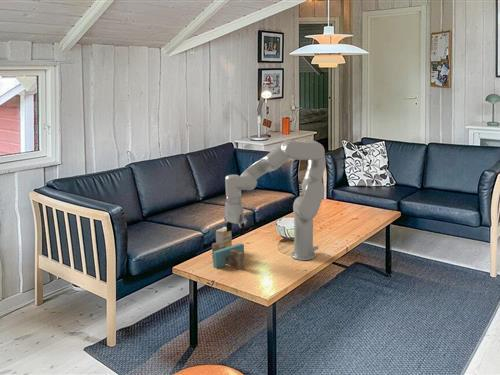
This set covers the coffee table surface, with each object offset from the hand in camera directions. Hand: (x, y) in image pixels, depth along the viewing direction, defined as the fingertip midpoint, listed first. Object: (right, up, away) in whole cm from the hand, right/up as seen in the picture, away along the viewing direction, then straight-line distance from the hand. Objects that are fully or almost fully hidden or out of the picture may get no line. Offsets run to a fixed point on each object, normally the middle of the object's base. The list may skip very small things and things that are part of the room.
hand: (235, 232), depth 253 cm
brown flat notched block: (-4, -15, 0) cm, 16 cm away
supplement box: (-6, -12, +16) cm, 21 cm away
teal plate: (-3, -15, 0) cm, 16 cm away
